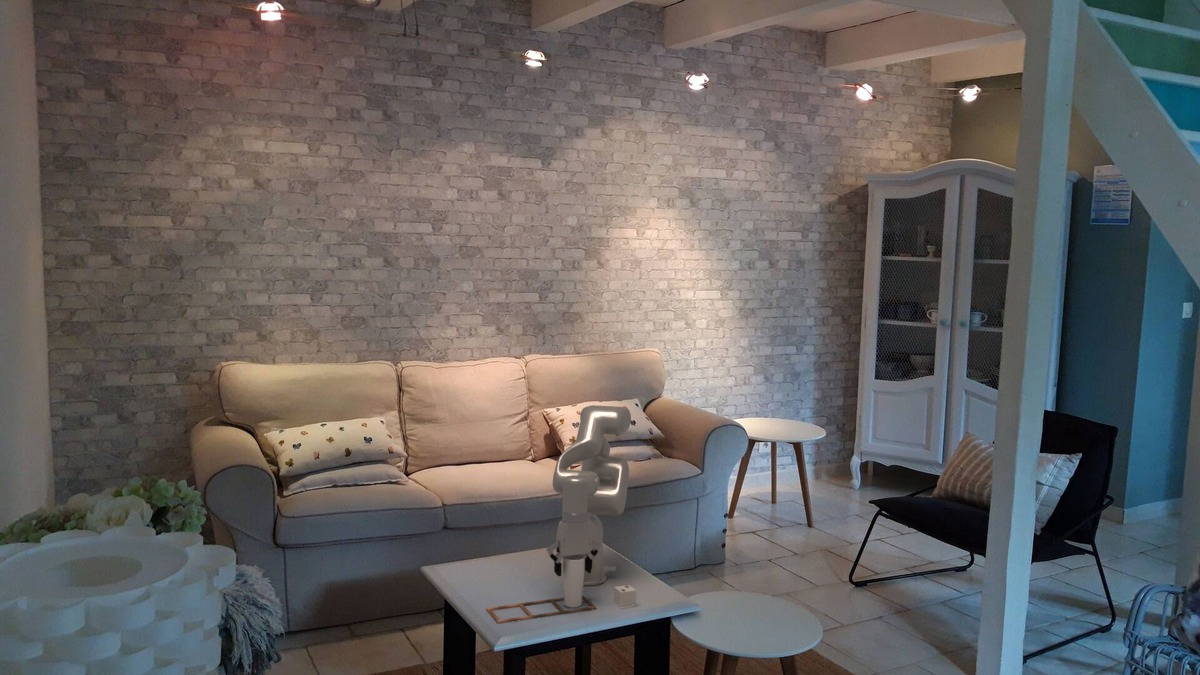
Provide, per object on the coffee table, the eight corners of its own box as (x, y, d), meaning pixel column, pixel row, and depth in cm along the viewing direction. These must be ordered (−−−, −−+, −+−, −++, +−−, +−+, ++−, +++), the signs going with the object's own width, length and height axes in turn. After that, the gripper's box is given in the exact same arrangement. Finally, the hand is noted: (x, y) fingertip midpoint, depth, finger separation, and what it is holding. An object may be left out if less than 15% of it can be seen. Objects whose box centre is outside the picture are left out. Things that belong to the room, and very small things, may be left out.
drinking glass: (561, 601, 278) (562, 553, 277) (583, 600, 278) (584, 553, 277) (562, 609, 271) (563, 560, 270) (584, 609, 272) (585, 560, 271)
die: (628, 600, 280) (628, 584, 279) (635, 606, 275) (636, 589, 275) (613, 602, 278) (614, 586, 277) (620, 608, 273) (621, 592, 273)
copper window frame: (582, 596, 282) (582, 594, 282) (596, 609, 272) (596, 607, 272) (486, 610, 269) (486, 608, 269) (497, 623, 259) (497, 621, 259)
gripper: (595, 512, 279) (594, 566, 280) (543, 516, 272) (541, 572, 273) (606, 517, 273) (604, 574, 274) (552, 522, 265) (550, 580, 266)
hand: (573, 573), depth 273 cm, fingers open, 9 cm apart
